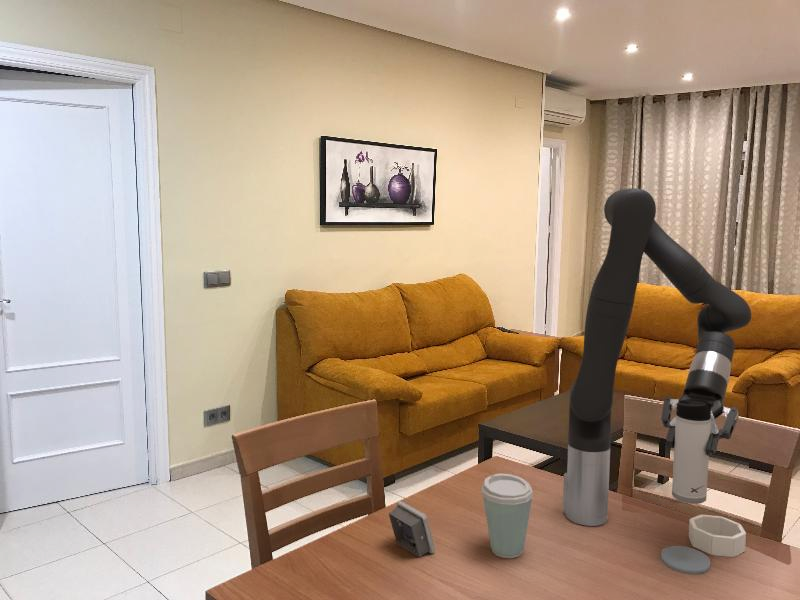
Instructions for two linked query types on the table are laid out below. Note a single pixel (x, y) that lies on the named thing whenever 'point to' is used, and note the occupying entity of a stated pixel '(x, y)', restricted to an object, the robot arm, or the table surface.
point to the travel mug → (691, 450)
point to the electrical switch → (411, 529)
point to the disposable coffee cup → (507, 513)
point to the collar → (717, 535)
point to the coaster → (685, 559)
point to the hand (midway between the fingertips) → (689, 449)
